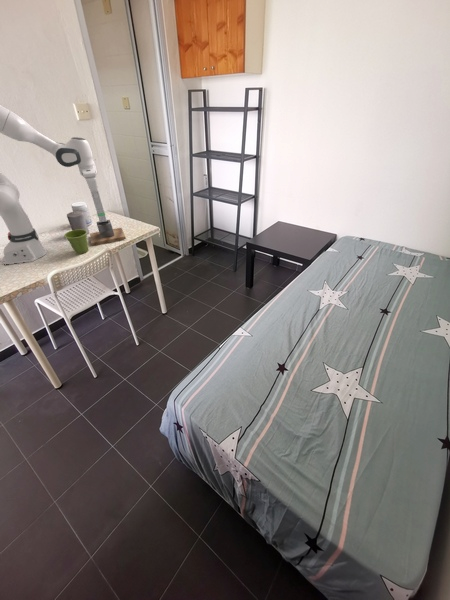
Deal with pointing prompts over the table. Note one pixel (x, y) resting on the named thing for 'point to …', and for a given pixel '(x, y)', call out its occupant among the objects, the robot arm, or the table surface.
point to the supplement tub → (83, 208)
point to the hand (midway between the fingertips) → (95, 196)
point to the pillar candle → (77, 221)
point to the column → (99, 207)
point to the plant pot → (78, 240)
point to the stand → (106, 234)
